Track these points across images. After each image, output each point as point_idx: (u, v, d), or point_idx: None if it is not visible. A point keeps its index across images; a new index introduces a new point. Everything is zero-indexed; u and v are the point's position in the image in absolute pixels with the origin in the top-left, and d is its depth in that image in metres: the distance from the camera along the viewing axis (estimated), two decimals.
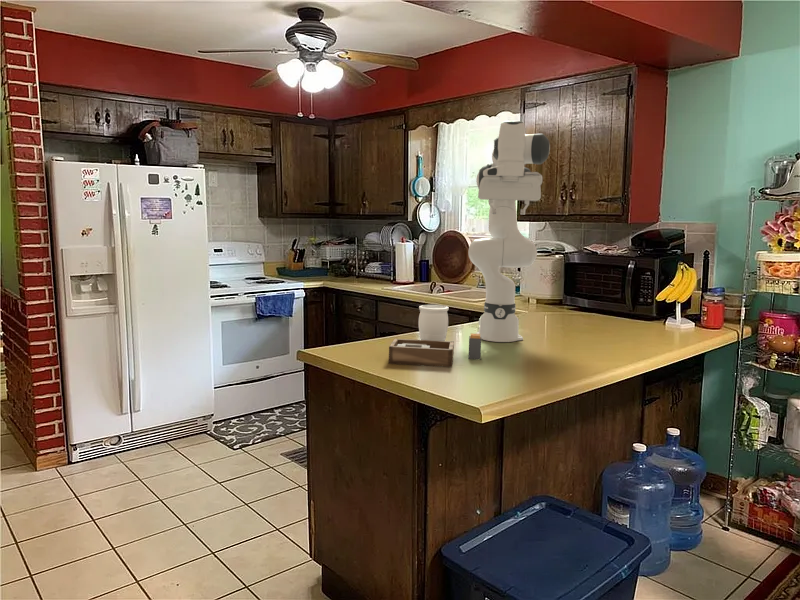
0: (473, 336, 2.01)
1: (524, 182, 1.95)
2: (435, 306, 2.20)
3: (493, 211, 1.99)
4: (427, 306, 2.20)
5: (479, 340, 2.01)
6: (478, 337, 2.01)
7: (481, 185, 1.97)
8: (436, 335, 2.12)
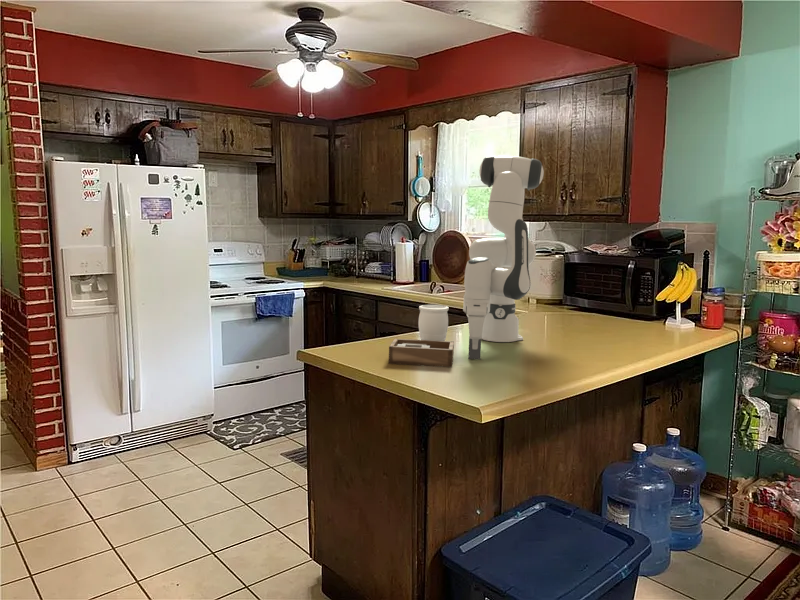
0: None
1: None
2: (435, 306, 2.20)
3: (477, 346, 2.00)
4: (427, 306, 2.20)
5: (479, 340, 2.01)
6: None
7: (483, 325, 1.93)
8: (436, 335, 2.12)
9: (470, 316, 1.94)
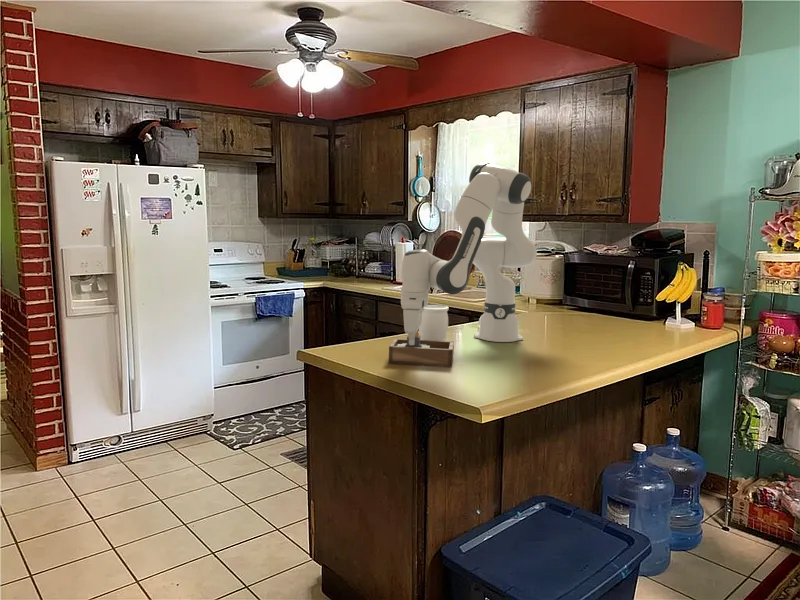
0: None
1: None
2: (435, 306, 2.20)
3: (414, 342, 1.93)
4: (427, 306, 2.20)
5: (417, 339, 1.95)
6: (416, 336, 1.95)
7: (418, 319, 1.87)
8: (436, 335, 2.12)
9: (405, 309, 1.88)
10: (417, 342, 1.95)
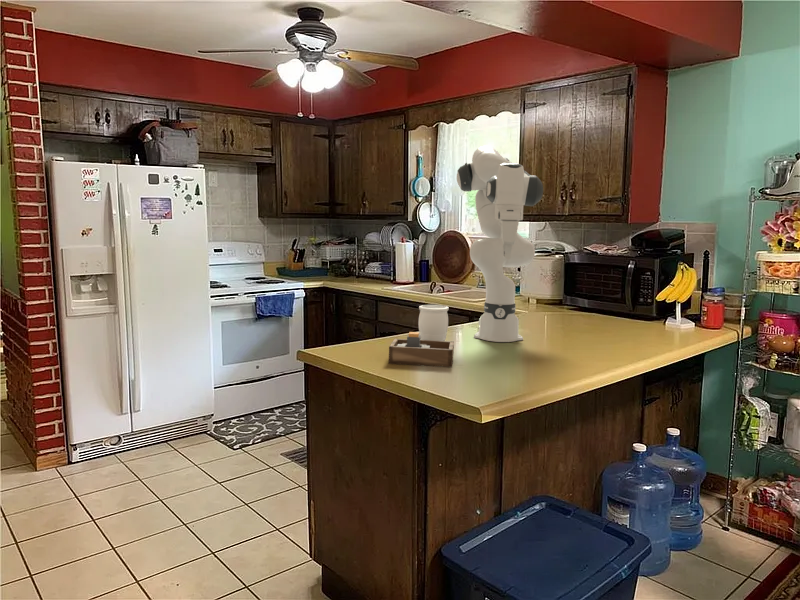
0: (411, 335, 1.96)
1: None
2: (435, 306, 2.20)
3: (510, 256, 1.91)
4: (427, 306, 2.20)
5: (417, 339, 1.95)
6: (416, 336, 1.95)
7: None
8: (436, 335, 2.12)
9: (503, 221, 1.86)
10: (417, 342, 1.95)
